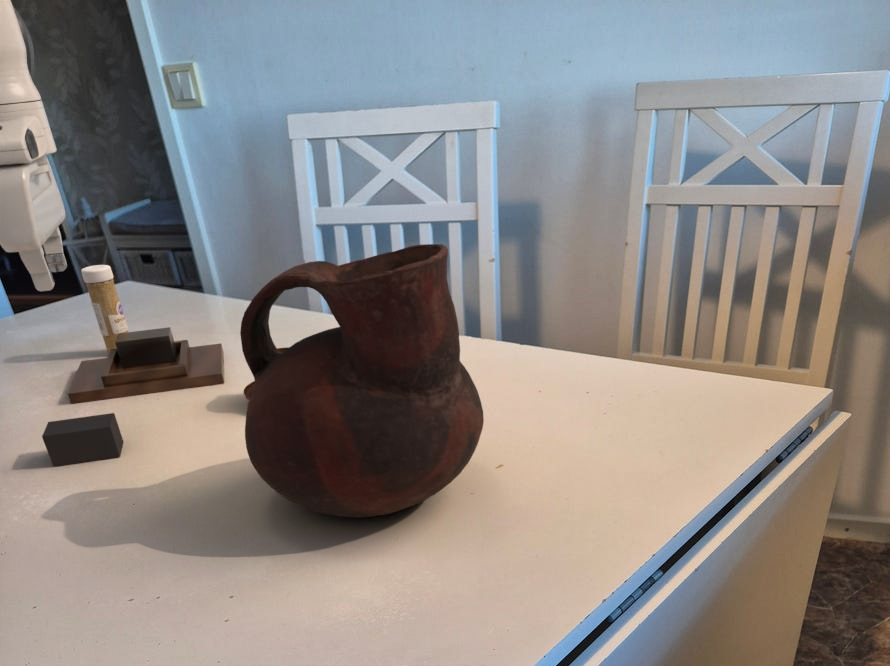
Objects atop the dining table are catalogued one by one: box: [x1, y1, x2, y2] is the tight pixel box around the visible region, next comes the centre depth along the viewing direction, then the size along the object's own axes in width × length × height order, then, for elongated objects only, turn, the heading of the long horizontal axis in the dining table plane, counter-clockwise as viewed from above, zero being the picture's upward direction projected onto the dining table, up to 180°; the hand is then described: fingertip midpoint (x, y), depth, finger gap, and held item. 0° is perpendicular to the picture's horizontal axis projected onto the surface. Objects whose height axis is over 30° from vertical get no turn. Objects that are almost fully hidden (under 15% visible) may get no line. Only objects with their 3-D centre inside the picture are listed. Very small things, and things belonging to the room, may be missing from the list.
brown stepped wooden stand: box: [67, 326, 225, 405], centre depth 129 cm, size 22×16×6 cm
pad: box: [41, 412, 124, 468], centre depth 105 cm, size 8×5×4 cm, turn 104°
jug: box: [239, 243, 485, 518], centre depth 86 cm, size 25×25×25 cm
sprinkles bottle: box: [80, 264, 130, 355], centre depth 138 cm, size 5×5×14 cm
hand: (53, 279), depth 94 cm, fingers open, 8 cm apart
